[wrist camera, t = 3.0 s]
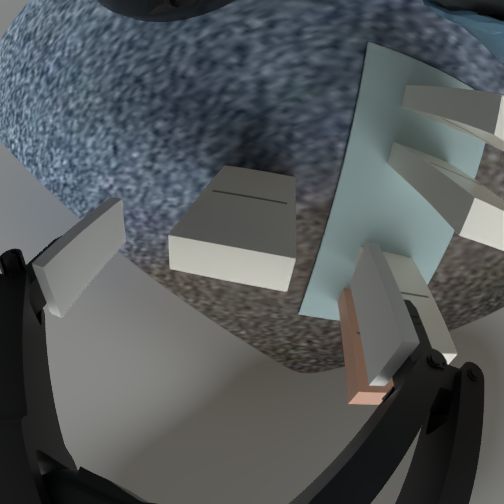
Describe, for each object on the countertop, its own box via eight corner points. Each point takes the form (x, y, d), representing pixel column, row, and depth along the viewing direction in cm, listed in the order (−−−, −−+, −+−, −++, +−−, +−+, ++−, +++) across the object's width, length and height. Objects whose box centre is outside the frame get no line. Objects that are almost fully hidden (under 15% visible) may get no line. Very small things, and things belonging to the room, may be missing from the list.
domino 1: (224, 164, 21) (168, 234, 12) (295, 176, 21) (296, 258, 11) (222, 186, 22) (169, 268, 13) (290, 198, 22) (286, 292, 12)
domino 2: (405, 84, 15) (502, 94, 6) (462, 111, 15) (561, 147, 6) (401, 107, 16) (493, 135, 7) (457, 131, 16) (553, 179, 7)
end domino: (343, 287, 25) (358, 391, 16) (392, 296, 25) (421, 392, 16) (337, 302, 26) (348, 403, 17) (385, 309, 26) (408, 403, 17)
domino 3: (393, 141, 18) (474, 196, 8) (449, 162, 17) (536, 227, 8) (387, 164, 19) (458, 235, 9) (442, 183, 18) (522, 258, 9)
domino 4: (360, 246, 23) (391, 350, 13) (412, 257, 22) (457, 353, 13) (353, 263, 24) (377, 369, 14) (404, 273, 23) (442, 370, 14)
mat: (367, 42, 14) (368, 41, 14) (492, 101, 14) (494, 102, 13) (298, 312, 28) (298, 314, 28) (400, 326, 27) (401, 328, 27)
